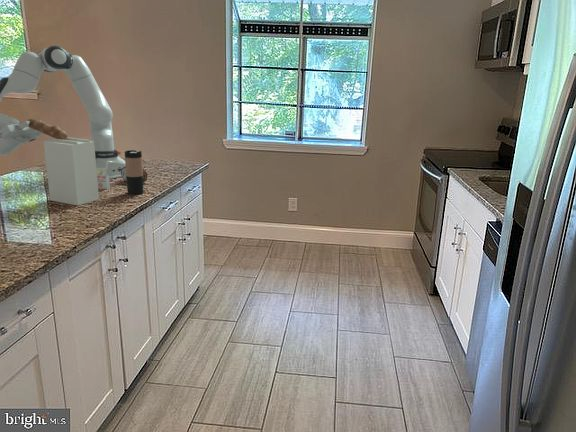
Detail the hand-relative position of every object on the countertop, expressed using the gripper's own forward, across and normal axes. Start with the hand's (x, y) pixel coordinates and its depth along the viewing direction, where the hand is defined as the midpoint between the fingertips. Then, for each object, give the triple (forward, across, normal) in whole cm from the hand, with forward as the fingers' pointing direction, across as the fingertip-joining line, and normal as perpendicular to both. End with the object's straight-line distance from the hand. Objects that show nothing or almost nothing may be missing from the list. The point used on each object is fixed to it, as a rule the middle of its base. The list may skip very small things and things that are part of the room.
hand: (34, 122), depth 195 cm
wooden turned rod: (+4, 0, +8) cm, 9 cm away
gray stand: (0, 0, +38) cm, 38 cm away
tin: (0, +40, +38) cm, 55 cm away
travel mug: (+13, +23, +45) cm, 52 cm away
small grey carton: (-4, +21, +36) cm, 42 cm away
